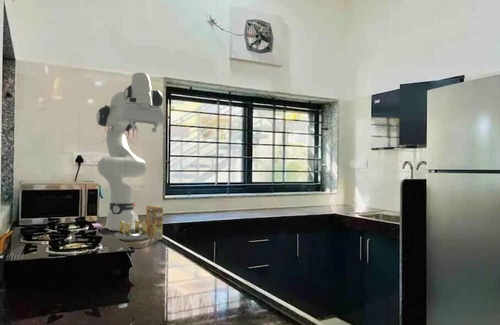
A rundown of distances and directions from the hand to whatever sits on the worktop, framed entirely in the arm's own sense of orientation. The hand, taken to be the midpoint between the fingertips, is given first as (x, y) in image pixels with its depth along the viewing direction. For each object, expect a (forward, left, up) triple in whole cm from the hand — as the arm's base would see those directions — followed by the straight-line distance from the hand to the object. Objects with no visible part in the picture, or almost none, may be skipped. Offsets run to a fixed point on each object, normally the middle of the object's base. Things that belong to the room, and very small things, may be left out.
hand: (144, 131), depth 179 cm
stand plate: (+8, 0, -50) cm, 51 cm away
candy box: (-6, +4, -51) cm, 51 cm away
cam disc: (+9, 0, -48) cm, 49 cm away
